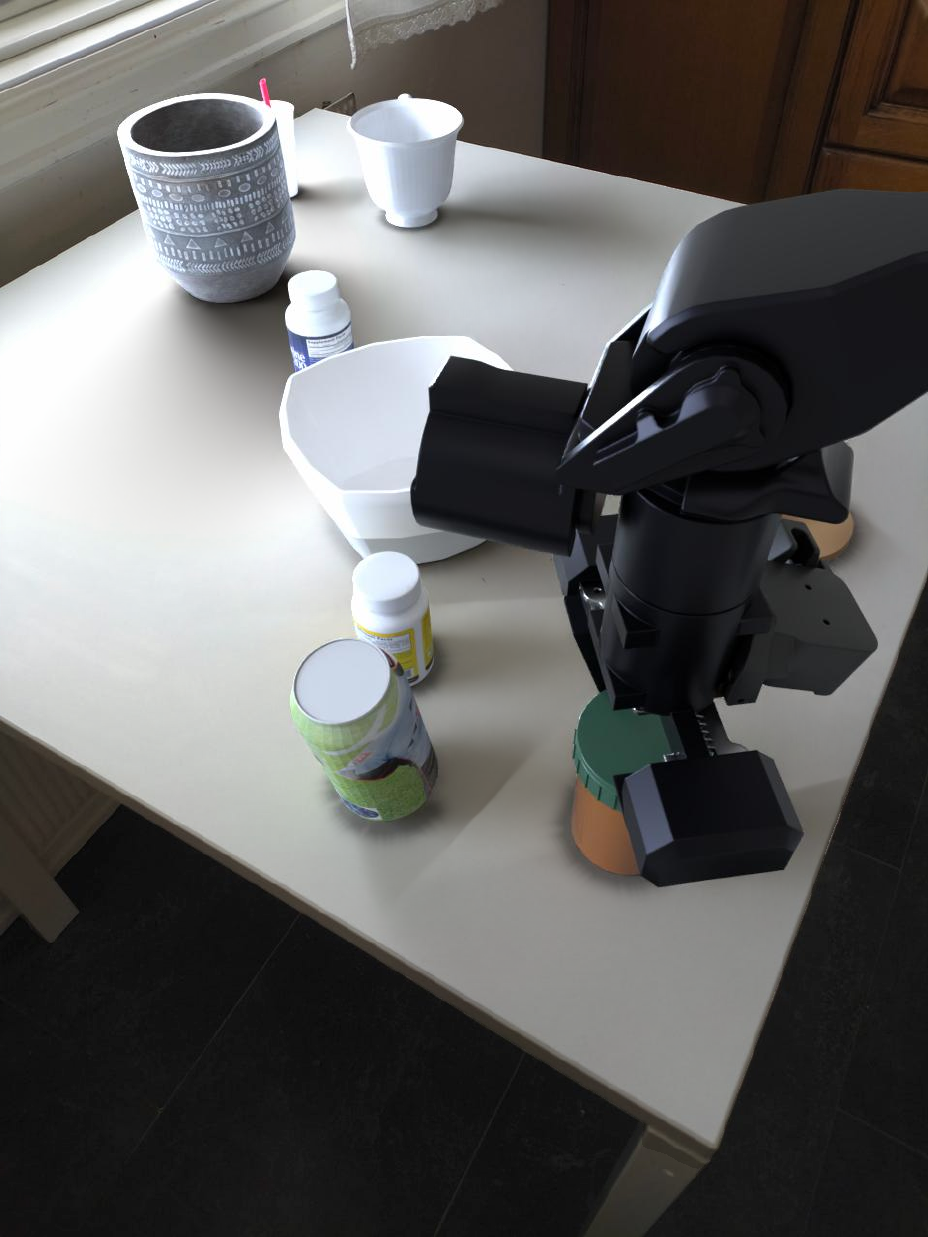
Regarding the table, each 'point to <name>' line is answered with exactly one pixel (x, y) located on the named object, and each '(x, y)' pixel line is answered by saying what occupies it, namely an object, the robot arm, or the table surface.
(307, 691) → the beverage can
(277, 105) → the cup
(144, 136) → the planter
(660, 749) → the jar lid
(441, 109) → the teacup
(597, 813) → the jam jar
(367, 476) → the bowl
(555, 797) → the table surface
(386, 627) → the supplement bottle
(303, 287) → the pill bottle
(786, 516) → the coaster
